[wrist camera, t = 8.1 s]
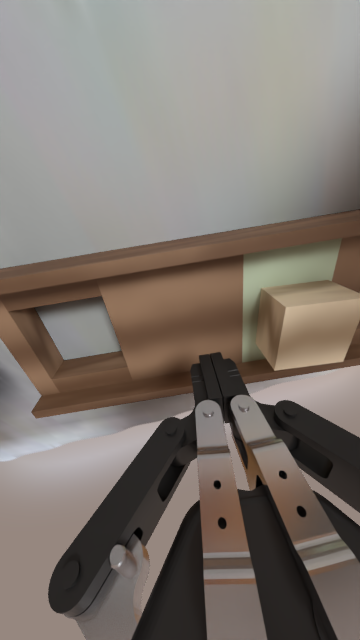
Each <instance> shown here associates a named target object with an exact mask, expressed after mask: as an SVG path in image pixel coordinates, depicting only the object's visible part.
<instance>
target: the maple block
mask: <svg viewBox="0 0 360 640" xmlns="http://www.w3.org/2000/svg"><path fill="white" fill-rule="evenodd" d="M359 320H360V293H358V292H355V291H353V290H351V289H348V288H346V287H344V286H341V285H339V284H337V283H334V282H332V281H329V280H323V281H314V282H306V283H298V284H290V285H281V286H273V287H265V288H261V296H260V305H259V314H258V323H257V332H256V342H255V343H256V345H257V346H258V348H259V349H260V351H261V352H262V354H263V355H264V356H265V358H266V359H267V361H268V362H269V364H270V365H271V366H272V368H273V369H274V371H276V370H284V369H292V368H299V367H307V366H314V365H322V364H330V363H337V362H343V361H344V358H345V356H346V353H347V351H348V348H349V346H350V343H351V341H352V338H353V336H354V333H355V331H356V328H357V326H358V323H359Z"/></svg>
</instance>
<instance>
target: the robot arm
mask: <svg viewBox="0 0 360 640" xmlns="http://www.w3.org/2000/svg"><path fill="white" fill-rule="evenodd" d="M190 373H191V379H192V386H193V392H194V399H195V408H194V410H193V412H192V413H191V414H190V415H189V416H187V417H185V418H183V419H181V420H180V419H178V418H175V417H170V418H167V419H165V420H164V421H162V423H161V424H160V425H159V427H158V428H157V429H156V430H155V432H154V433H153V435H152V436H151V437H150V439H149V440H148V441H147V443H146V444H145V445H144V447H143V448H142V449H141V451H140V452H139V454H138V455H137V456H136V458H135V459H134V460H133V462H132V463H131V464H130V466H129V467H128V468H127V470H126V471H125V472H124V474H123V475H122V476H121V478H120V479H119V480H118V482H117V483H116V484H115V486H114V487H113V489H112V490H111V491H110V493H109V494H108V495H107V497H106V498H105V499H104V501H103V502H102V503H101V505H100V506H99V507H98V509H97V510H96V511H95V513H94V514H93V516H92V517H91V518H90V520H89V521H88V523H87V524H86V525H85V526H84V528H83V529H82V530H81V532H80V533H79V534H78V536H77V537H76V538H75V540H74V541H73V543H72V544H71V545H70V547H69V548H68V549H67V551H66V552H65V553H64V555H63V556H62V558H61V559H60V561H59V562H58V564H57V565H56V567H55V569H54V572H53V574H52V577H51V580H50V584H49V592H48V598H49V603H50V606H51V608H52V609H53V610H54V611H55V612H57V613H60V614H64V615H65V616H66V617H68V618H71V619H75V620H76V621H77V623H78V625H79V627H80V629H81V631H82V633H83V634H84V637H85V638H86V640H360V526H359V525H358V524H356V523H355V522H354V521H353V520H352V519H350V518H349V517H348V516H347V515H345V514H344V513H343V512H342V511H341V510H339V509H338V508H337V507H336V506H334V505H333V504H332V503H331V502H330V501H328V500H327V499H326V498H324V497H323V496H321V495H320V494H318V493H317V492H315V491H313V490H312V489H311V487H310V486H309V484H308V482H307V481H306V479H305V477H304V475H303V474H302V472H301V470H300V469H299V468H301V469H302V470H303V471H304V472H306V473H307V474H309V475H310V476H311V477H313V478H314V479H315V480H317V481H318V482H319V483H321V484H322V485H323V486H325V487H326V488H327V489H329V490H330V491H331V492H333V493H334V494H335V495H337V496H338V497H339V498H341V499H342V500H343V501H345V502H346V503H347V504H349V505H350V506H352V507H353V508H354V509H355V510H357V511H358V512H359V513H360V438H359V437H357V436H355V435H353V434H351V433H350V432H348V431H346V430H344V429H343V428H340V427H339V426H337V425H335V424H333V423H332V422H330V421H328V420H326V419H324V418H322V417H320V416H319V415H317V414H315V413H313V412H311V411H309V410H307V409H306V408H304V407H302V406H300V405H298V404H296V403H295V402H292V401H288V400H283V401H279V402H278V403H277V404H276V405H275V406H273V405H266V404H261V403H259V402H257V401H255V400H254V399H253V398H251V397H250V395H249V393H248V391H247V388H246V386H245V384H244V382H243V379H242V377H241V375H240V373H239V371H238V368H237V366H236V364H235V362H233V361H232V360H231V359H230V358H228V359H223V357H222V354H221V352H216V353H210V355H209V354H204V355H199V363H197V364H192V366H191V369H190ZM224 421H225V423H230V426H231V430H232V438H233V440H234V443H235V446H236V449H237V451H238V454H239V457H240V459H241V462H242V465H243V467H244V470H245V473H246V477H247V482H248V486H249V489H250V491H245V490H239V489H237V486H236V481H235V475H234V470H233V465H232V460H231V455H230V451H229V449H228V444H227V439H226V434H225V428H224ZM195 458H197V462H198V479H199V495H200V500H199V501H197V502H196V503H195V504H194V505H193V506H192V507H191V508H190V509H189V511H188V512H187V514H186V516H185V517H184V519H183V521H182V523H181V525H180V528H179V530H178V532H177V535H176V537H175V539H174V542H173V544H172V547H171V548H170V551H169V553H168V555H167V558H166V560H165V563H164V565H163V567H162V569H161V572H160V574H159V576H158V579H157V581H156V583H155V585H154V588H153V590H152V593H151V595H150V597H149V599H148V602H147V604H146V607H145V609H144V611H143V613H142V612H141V598H142V593H143V589H144V586H145V583H146V580H147V578H148V574H149V567H150V561H149V555H148V551H147V549H146V547H145V546H146V544H147V542H148V540H149V539H150V537H151V535H152V533H153V531H154V529H155V527H156V526H157V524H158V522H159V520H160V518H161V516H162V514H163V513H164V511H165V509H166V507H167V505H168V503H169V501H170V499H171V498H172V496H173V494H174V492H175V490H176V488H177V487H178V485H179V483H180V481H181V479H182V477H183V475H184V474H185V472H186V470H187V468H188V466H189V464H190V462H191V461H192V460H194V459H195Z"/></svg>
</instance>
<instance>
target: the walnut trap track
mask: <svg viewBox="0 0 360 640" xmlns="http://www.w3.org/2000/svg"><path fill="white" fill-rule="evenodd" d="M323 280H329V281H332V282H334V283H337V284H339V285H341V286H344V287H346V288H348V289H351V290H353V291H355V292H358V293H360V209H359V210H353V211H347V212H341V213H335V214H329V215H323V216H317V217H311V218H305V219H299V220H293V221H287V222H281V223H274V224H268V225H262V226H256V227H250V228H244V229H238V230H232V231H226V232H220V233H214V234H208V235H202V236H196V237H190V238H184V239H178V240H172V241H166V242H160V243H154V244H148V245H142V246H136V247H129V248H123V249H117V250H111V251H105V252H99V253H93V254H87V255H81V256H75V257H69V258H63V259H57V260H51V261H45V262H39V263H33V264H27V265H21V266H15V267H9V268H3V269H0V338H1V339H2V341H3V342H4V344H5V345H6V346H7V348H8V349H9V351H10V352H11V353H12V355H13V356H14V358H15V359H16V360H17V362H18V363H19V365H20V366H21V367H22V369H23V370H24V372H25V373H26V374H27V376H28V377H29V379H30V380H31V382H32V383H33V384H34V386H35V387H36V389H37V390H38V391H39V393H40V394H41V398H40V399H39V401H38V402H37V404H36V406H35V407H34V409H33V410H32V412H31V413H32V414H33V415H34V416H35V418H42V417H48V416H54V415H60V414H66V413H72V412H78V411H84V410H90V409H96V408H102V407H108V406H114V405H120V404H126V403H132V402H139V401H145V400H151V399H157V398H163V397H169V396H175V395H181V394H187V393H193V386H192V379H191V373H190V369H191V366H192V364H197V363H199V355H204V354H209V355H210V353H216V352H221V354H222V357H223V359H228V358H230V359H231V360H232V361H233V362H235V364H236V366H237V368H238V371H239V373H240V375H241V377H242V379H243V382H244V384H247V383H253V382H259V381H265V380H272V379H278V378H284V377H290V376H296V375H302V374H308V373H314V372H320V371H326V370H332V369H338V368H344V367H350V366H356V365H360V320H359V323H358V326H357V328H356V331H355V333H354V336H353V338H352V341H351V343H350V346H349V348H348V351H347V353H346V356H345V358H344V361H343V362H337V363H330V364H322V365H314V366H307V367H299V368H292V369H284V370H276V371H274V369H273V368H272V366H271V365H270V364H269V362H268V361H267V359H266V358H265V356H264V355H263V354H262V352H261V351H260V349H259V348H258V346H257V345H256V343H255V342H256V332H257V323H258V314H259V305H260V296H261V288H265V287H273V286H281V285H290V284H298V283H306V282H314V281H323ZM99 296H102V297H103V300H104V303H105V305H106V308H107V311H108V314H109V316H110V319H111V322H112V325H113V327H114V330H115V333H116V336H117V338H118V341H119V344H120V347H121V350H122V351H118V352H112V353H106V354H100V355H94V356H88V357H82V358H76V359H70V360H63V358H62V356H61V354H60V353H59V351H58V349H57V347H56V346H55V344H54V342H53V340H52V338H51V337H50V335H49V333H48V331H47V330H46V328H45V326H44V324H43V322H42V321H41V319H40V317H39V315H38V313H37V312H36V310H35V308H34V307H38V306H44V305H50V304H56V303H62V302H68V301H74V300H80V299H86V298H92V297H99Z"/></svg>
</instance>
